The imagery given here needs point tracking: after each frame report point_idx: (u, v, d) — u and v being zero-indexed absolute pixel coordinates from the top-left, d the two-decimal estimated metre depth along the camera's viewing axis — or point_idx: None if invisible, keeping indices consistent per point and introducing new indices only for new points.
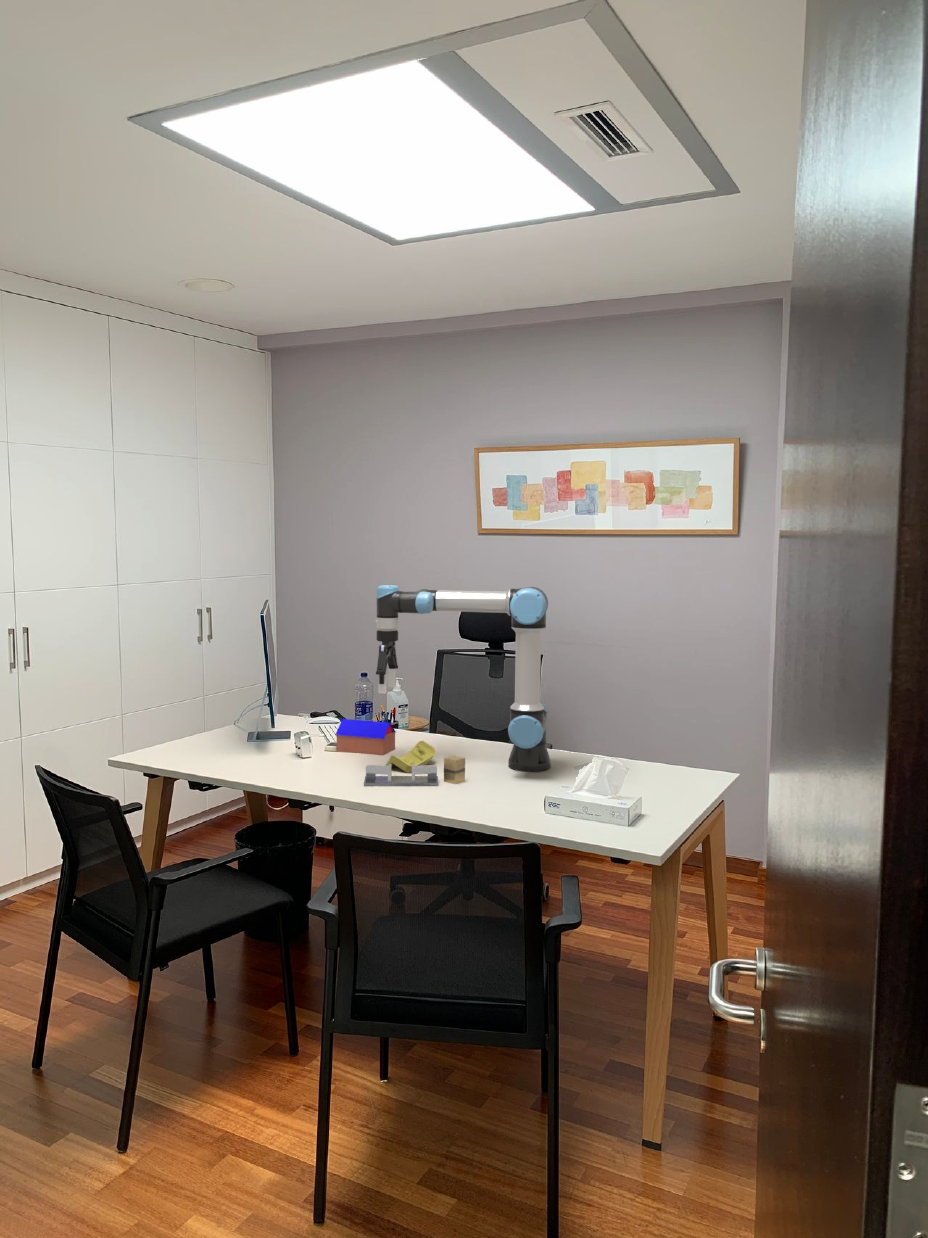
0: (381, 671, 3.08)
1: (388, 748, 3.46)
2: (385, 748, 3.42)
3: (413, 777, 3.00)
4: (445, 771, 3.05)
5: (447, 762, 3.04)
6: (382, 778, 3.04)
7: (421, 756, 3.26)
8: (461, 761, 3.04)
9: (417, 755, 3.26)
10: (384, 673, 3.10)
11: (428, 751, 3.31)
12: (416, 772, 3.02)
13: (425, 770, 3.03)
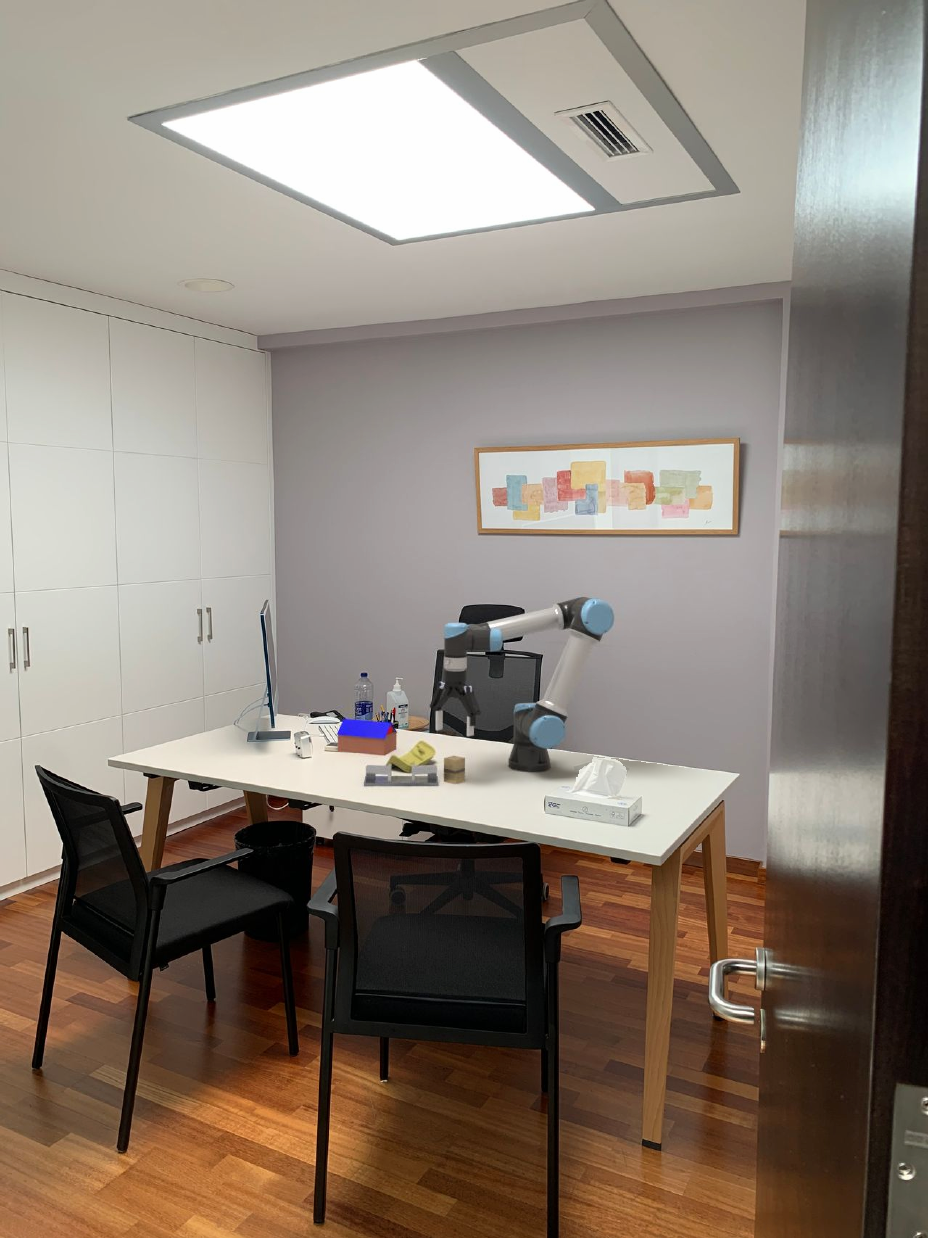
0: (479, 712, 2.98)
1: (389, 748, 3.46)
2: (386, 748, 3.42)
3: (413, 777, 3.00)
4: (445, 771, 3.05)
5: (447, 762, 3.04)
6: (382, 778, 3.04)
7: (421, 756, 3.26)
8: (461, 761, 3.04)
9: (417, 755, 3.27)
10: None
11: (428, 751, 3.31)
12: (416, 772, 3.02)
13: (425, 770, 3.03)
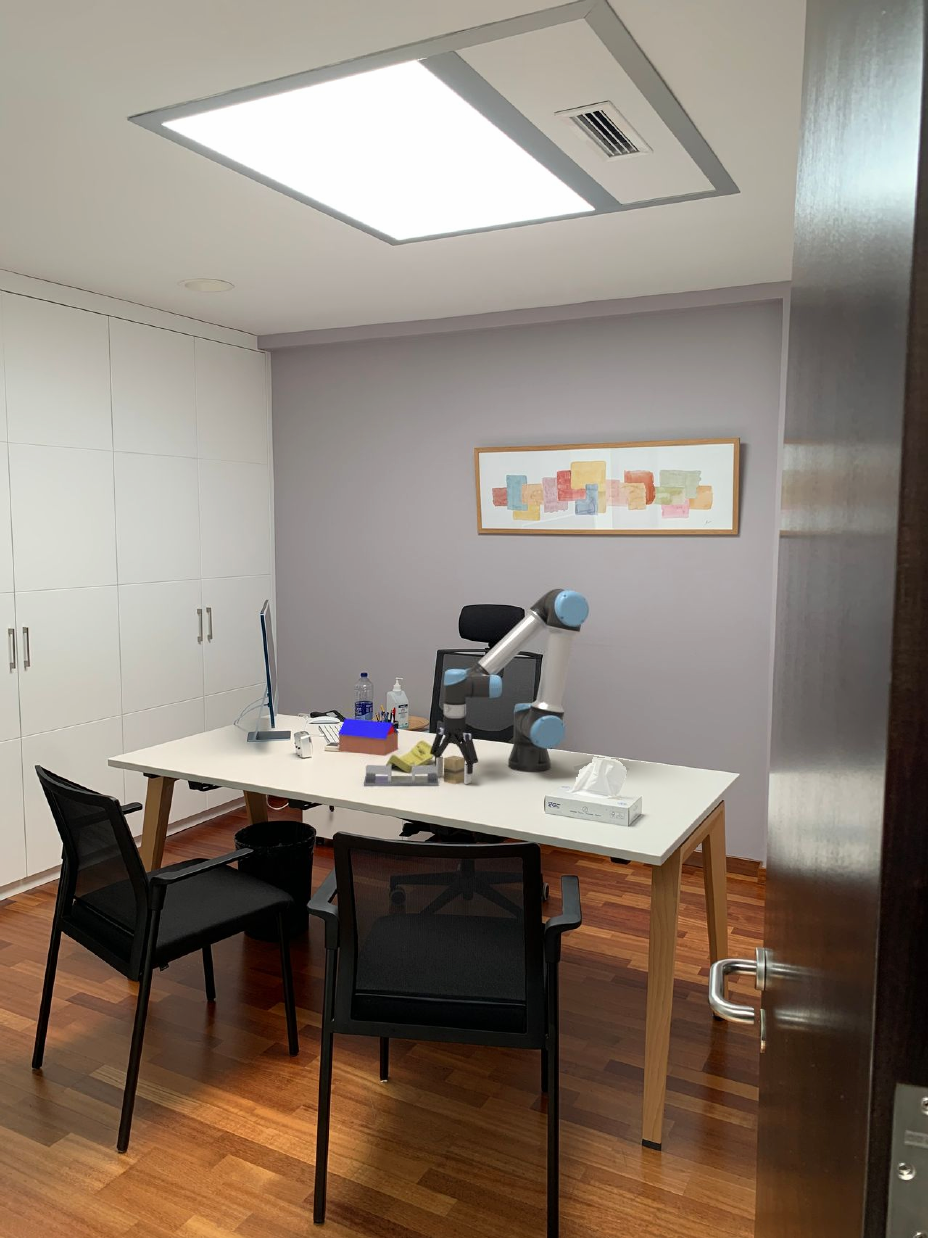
0: (476, 761, 3.00)
1: (390, 749, 3.45)
2: (386, 748, 3.42)
3: (413, 777, 3.00)
4: (445, 771, 3.05)
5: (447, 762, 3.04)
6: (382, 778, 3.04)
7: (421, 756, 3.27)
8: (461, 761, 3.04)
9: (417, 755, 3.27)
10: None
11: (428, 751, 3.31)
12: (416, 772, 3.02)
13: (425, 770, 3.03)
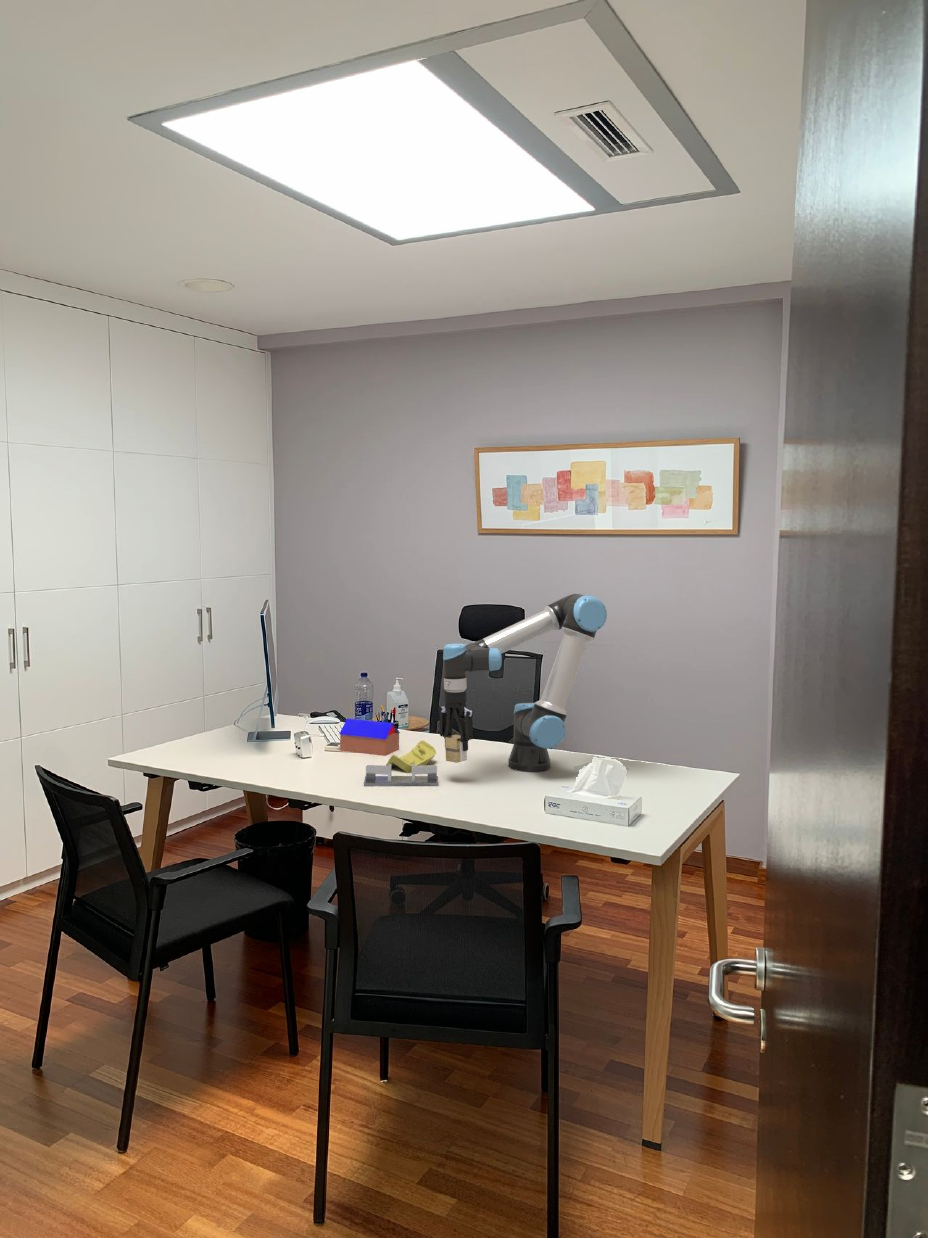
0: (471, 738, 3.01)
1: (391, 749, 3.45)
2: (387, 748, 3.42)
3: (413, 777, 3.00)
4: (447, 750, 3.04)
5: (448, 741, 3.03)
6: (382, 778, 3.04)
7: (422, 756, 3.27)
8: None
9: (418, 755, 3.27)
10: (468, 740, 3.03)
11: (429, 751, 3.32)
12: (416, 772, 3.02)
13: (425, 770, 3.03)
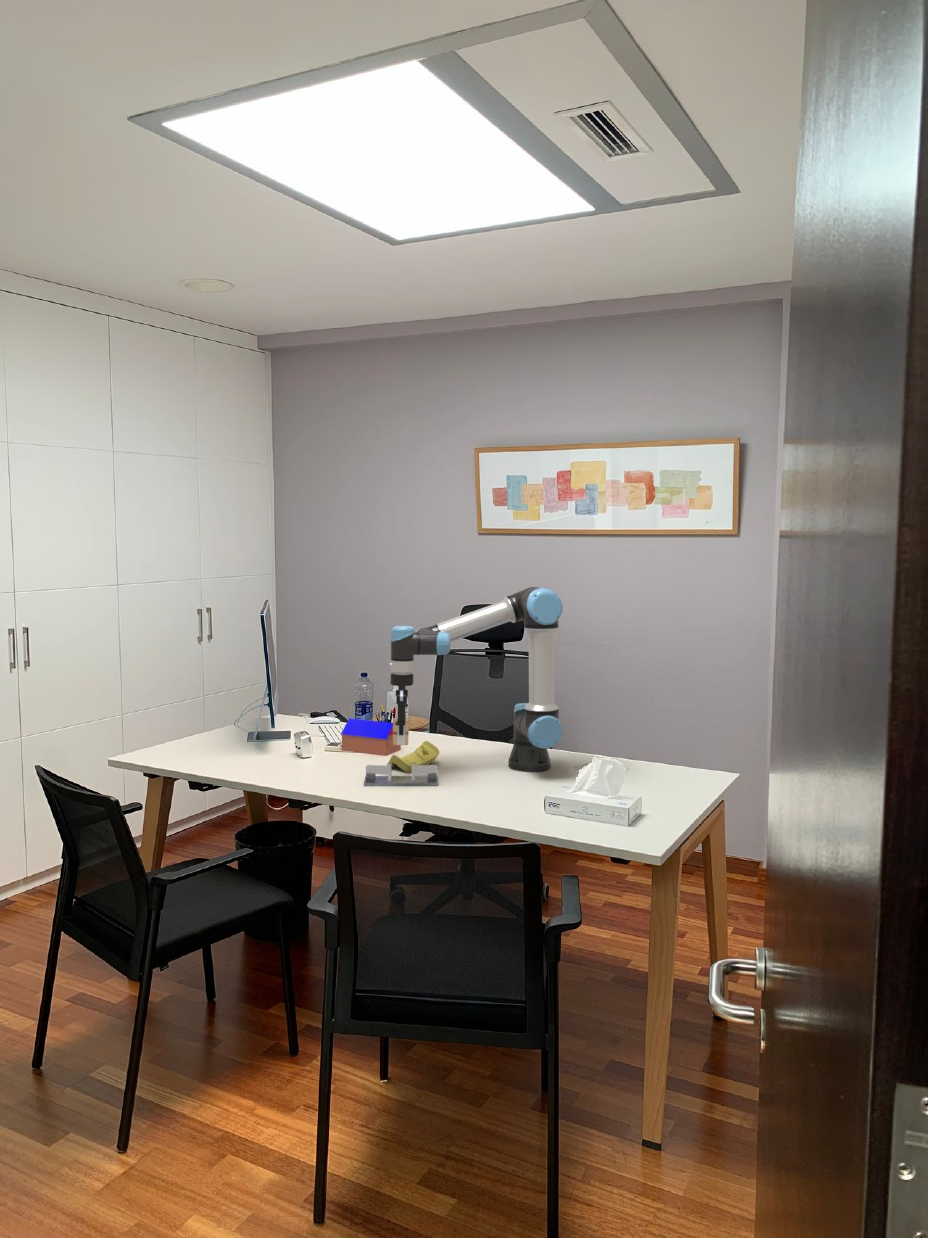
0: (402, 723, 2.96)
1: (392, 749, 3.45)
2: (388, 748, 3.42)
3: (413, 777, 3.00)
4: None
5: None
6: (382, 778, 3.04)
7: (424, 756, 3.26)
8: None
9: (420, 755, 3.26)
10: (404, 724, 2.97)
11: (432, 751, 3.31)
12: (416, 772, 3.02)
13: (425, 770, 3.03)
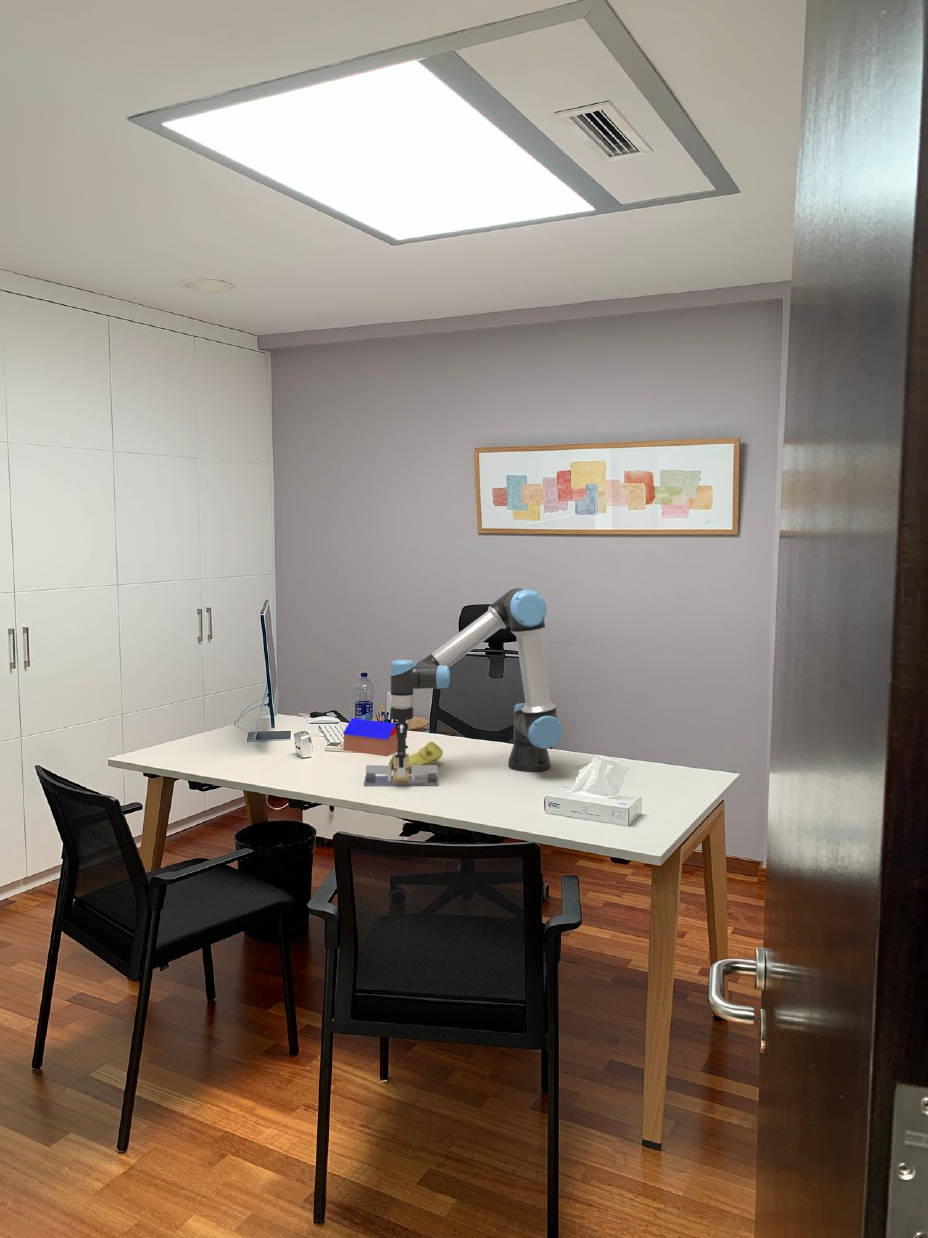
0: (402, 755, 2.94)
1: (393, 749, 3.44)
2: (389, 748, 3.41)
3: (413, 777, 3.00)
4: None
5: None
6: (382, 778, 3.04)
7: (427, 757, 3.25)
8: None
9: (423, 756, 3.26)
10: (404, 756, 2.96)
11: (436, 752, 3.29)
12: (416, 772, 3.02)
13: (425, 770, 3.03)
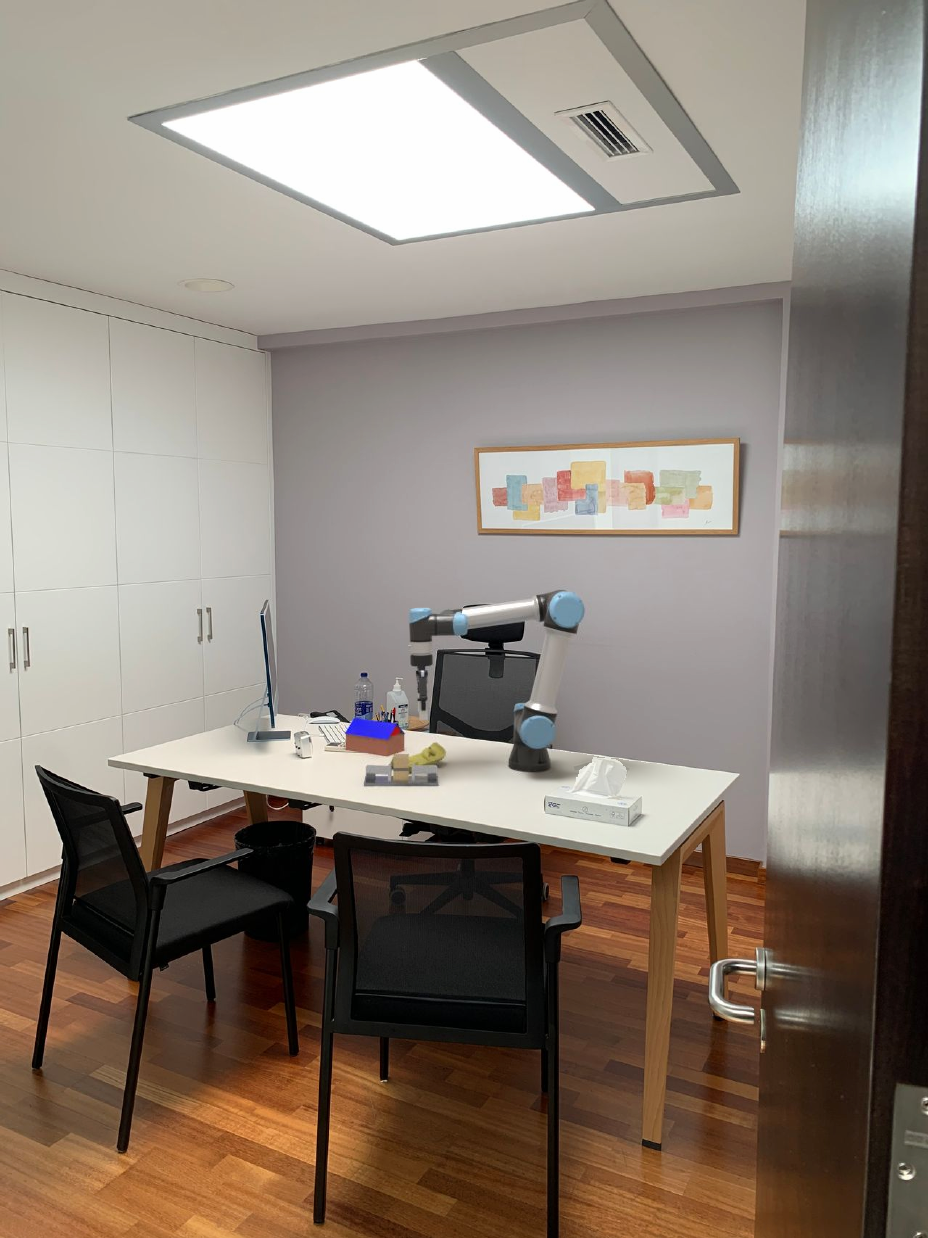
0: (424, 697, 2.98)
1: (395, 750, 3.44)
2: (389, 749, 3.41)
3: (413, 777, 3.00)
4: None
5: None
6: (382, 778, 3.04)
7: (429, 758, 3.24)
8: (403, 760, 3.00)
9: (425, 756, 3.25)
10: (426, 699, 3.00)
11: (439, 753, 3.28)
12: (416, 772, 3.02)
13: (425, 770, 3.03)
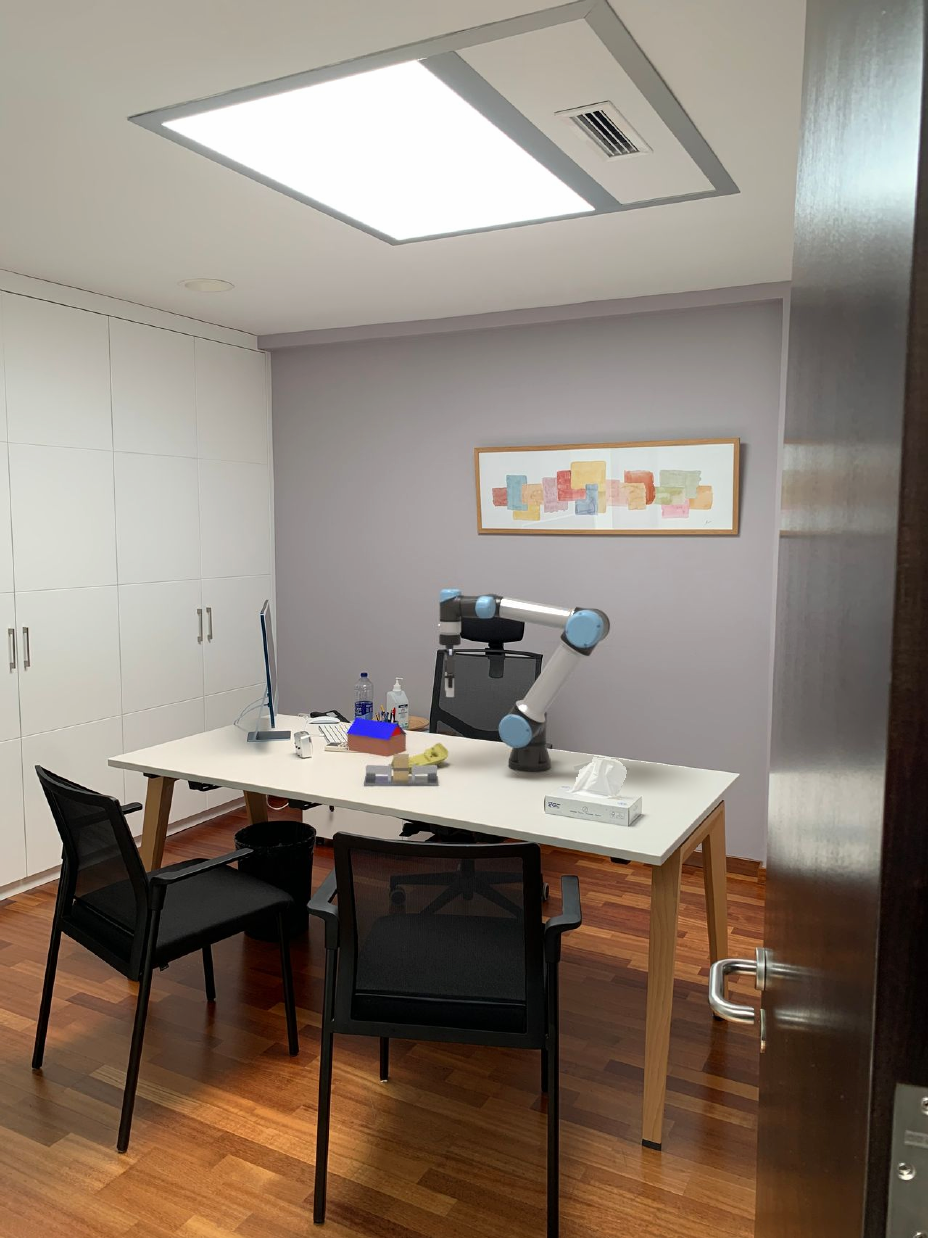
0: (452, 675, 3.10)
1: (396, 750, 3.43)
2: (390, 749, 3.40)
3: (413, 777, 3.00)
4: None
5: None
6: (382, 778, 3.04)
7: (430, 758, 3.23)
8: (403, 760, 3.00)
9: (427, 757, 3.24)
10: (453, 677, 3.12)
11: (442, 754, 3.27)
12: (416, 772, 3.02)
13: (425, 770, 3.03)
